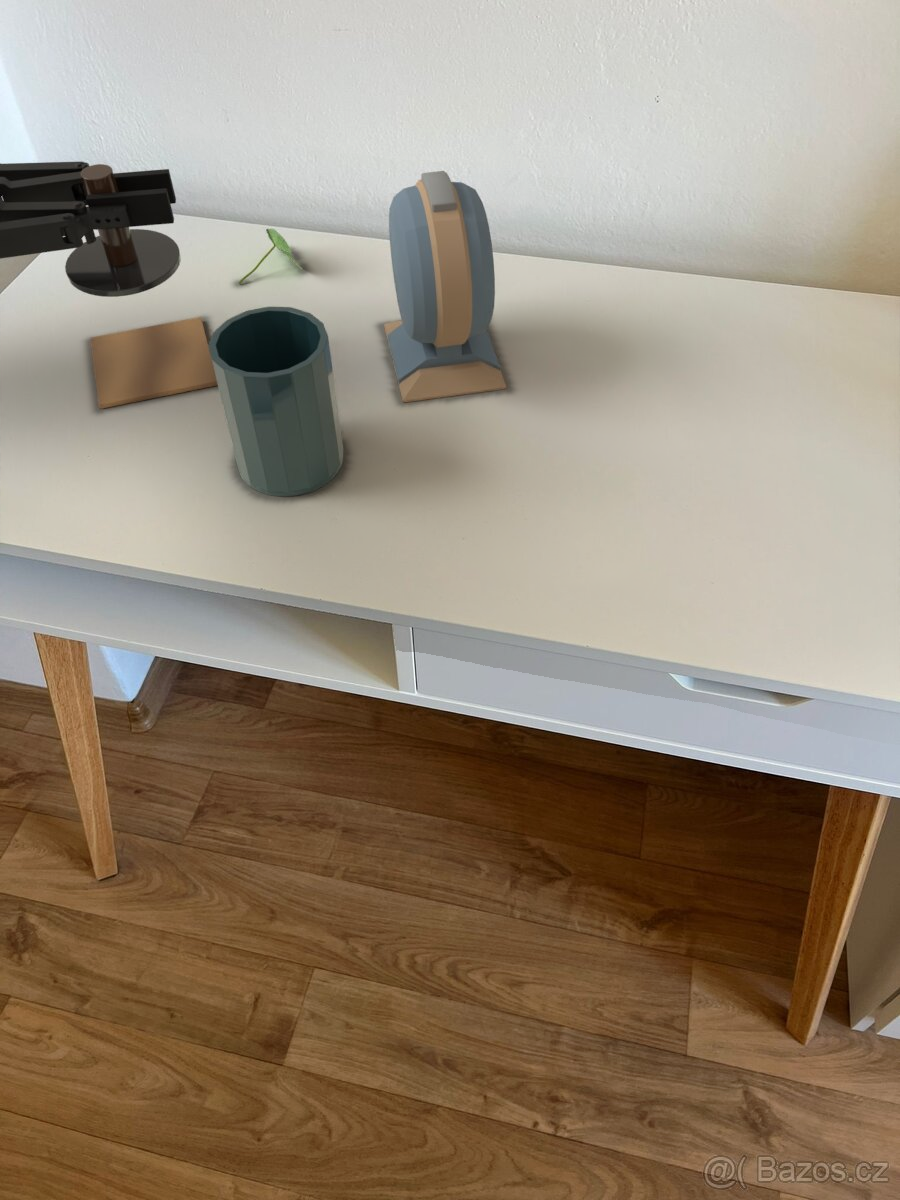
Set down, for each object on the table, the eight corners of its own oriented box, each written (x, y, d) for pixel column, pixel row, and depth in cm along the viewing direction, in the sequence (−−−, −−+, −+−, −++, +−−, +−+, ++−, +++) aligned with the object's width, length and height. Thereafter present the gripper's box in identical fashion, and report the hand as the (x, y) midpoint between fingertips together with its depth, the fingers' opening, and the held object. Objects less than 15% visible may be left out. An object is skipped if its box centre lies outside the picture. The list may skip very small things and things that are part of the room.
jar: (247, 506, 85) (218, 387, 75) (230, 438, 90) (201, 318, 81) (354, 483, 86) (338, 363, 77) (330, 417, 92) (313, 297, 82)
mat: (100, 409, 93) (98, 404, 93) (91, 341, 100) (90, 337, 100) (218, 385, 95) (217, 381, 95) (201, 320, 102) (200, 316, 102)
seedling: (269, 311, 111) (308, 267, 111) (263, 307, 103) (305, 259, 103) (218, 264, 110) (259, 218, 109) (209, 256, 102) (252, 207, 101)
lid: (126, 315, 86) (95, 215, 79) (45, 281, 89) (8, 182, 82) (205, 260, 91) (182, 161, 84) (125, 229, 94) (97, 132, 87)
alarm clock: (508, 395, 93) (514, 217, 80) (404, 409, 92) (392, 231, 79) (477, 308, 102) (478, 135, 89) (382, 320, 101) (368, 147, 88)
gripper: (-75, 212, 92) (185, 191, 93) (-116, 312, 82) (176, 286, 83) (-112, 130, 86) (165, 109, 87) (-160, 227, 76) (154, 201, 77)
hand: (170, 196), depth 85 cm, fingers closed on lid, 3 cm apart
